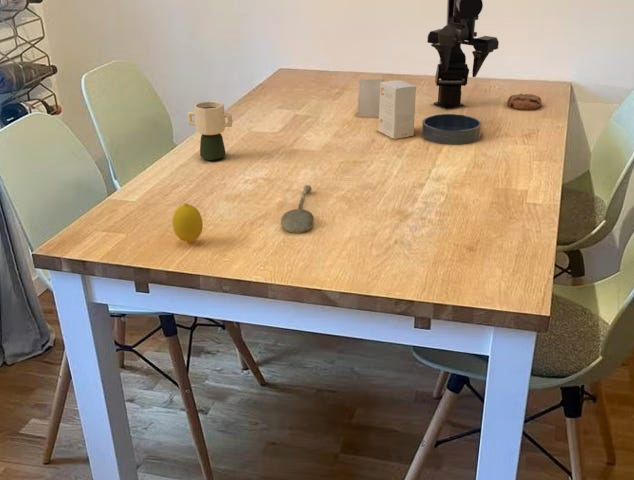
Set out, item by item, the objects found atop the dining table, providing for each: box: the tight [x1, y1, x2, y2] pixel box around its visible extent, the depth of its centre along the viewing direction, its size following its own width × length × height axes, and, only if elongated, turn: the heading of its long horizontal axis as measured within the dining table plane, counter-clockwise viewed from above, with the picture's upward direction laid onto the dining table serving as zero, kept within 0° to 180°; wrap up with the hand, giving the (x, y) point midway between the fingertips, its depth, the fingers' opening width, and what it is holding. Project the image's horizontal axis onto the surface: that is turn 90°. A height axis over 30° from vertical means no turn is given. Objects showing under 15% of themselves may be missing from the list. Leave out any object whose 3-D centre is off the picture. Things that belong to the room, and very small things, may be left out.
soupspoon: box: [280, 184, 315, 234], centre depth 159 cm, size 22×3×7 cm
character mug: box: [187, 100, 233, 161], centre depth 186 cm, size 11×7×13 cm, turn 80°
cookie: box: [506, 93, 542, 111], centre depth 226 cm, size 10×11×3 cm
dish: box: [421, 113, 483, 145], centre depth 202 cm, size 15×15×4 cm
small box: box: [378, 79, 417, 140], centre depth 201 cm, size 8×6×13 cm
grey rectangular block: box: [357, 78, 385, 118], centre depth 217 cm, size 4×7×10 cm, turn 80°
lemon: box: [172, 203, 204, 244], centre depth 145 cm, size 6×6×8 cm
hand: (459, 74), depth 205 cm, fingers open, 9 cm apart
